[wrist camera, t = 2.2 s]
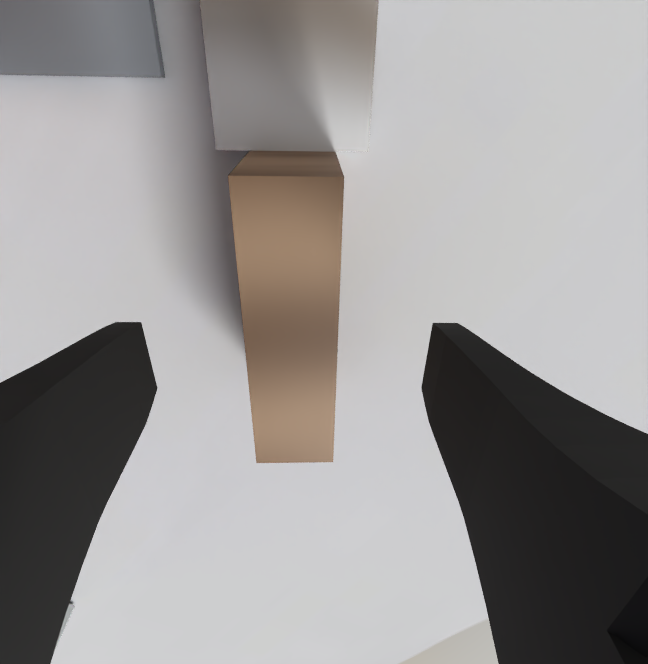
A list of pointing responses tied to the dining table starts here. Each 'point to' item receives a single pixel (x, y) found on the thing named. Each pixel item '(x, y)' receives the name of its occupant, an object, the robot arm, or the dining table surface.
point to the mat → (80, 38)
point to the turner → (290, 195)
